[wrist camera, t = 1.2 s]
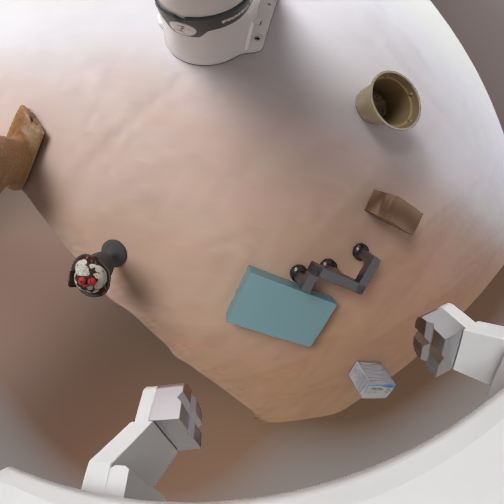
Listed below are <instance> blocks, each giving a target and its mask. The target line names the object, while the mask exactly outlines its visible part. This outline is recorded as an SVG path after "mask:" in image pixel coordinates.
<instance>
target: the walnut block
mask: <svg viewBox="0 0 504 504" xmlns="http://www.w3.org/2000/svg"><path fill="white" fill-rule="evenodd" d="M365 210H366V211H368V212H370V213H371V214H373V215H375V216H376V217H378V218H380V219H381V220H383V221H385V222H386V223H388V224H390V225H392V226H394V227H396V228H398V229H400V230H402V231H404V232H406V233H408V234H410V235H412V236H413V234H414V232H415V230H416V228H417V226H418V224H419V222H420V219H421V217H422V215H423V214H422V213H421V212H420V211H418V210H417V209H415V208H414V207H413V206H411V205H410V204H409V203H407V202H406V201H404V200H403V199H401V198H400V197H398V196H395V195H391V194H388V193H384V192H381V191H377V190H374V191H373V193H372V195H371V197H370V200H369V202H368V204H367V206H366V208H365Z"/></svg>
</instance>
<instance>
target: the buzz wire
mask: <svg viewBox="0 0 504 504" xmlns="http://www.w3.org/2000/svg"><path fill="white" fill-rule="evenodd" d="M353 256H354V257H355V258H356V259H357V260H363V261H364V262H365V263H364V265H363V267H362V269H361V271H360V272H359V274H358V276H357V278H356V279H353V278H351V277H348V276H346V275H344V274H342V273H341V272H340V271H339V270H338V269H337V265H336V263H335V262H334V261H333V260H332V259H325V260H323V261H322V262H321V264H318V263H315V262H313V261H311V263H310V265H309V267H308V269H306V268H305V267H304V266H303V265H295V266H294V267H292V269H291V270H290V276H291V278H292V280H293V281H295V282H296V283H297V284H298V286H299V288H300V290H301V291H304V292H307V293H310V292H311V290H312V288H313V286H314V284H315V283H316V281H317V279H318V277H319V278H322V279H324V280H327V281H329V282H331V283H334V284H336V285H339V286H341V287H344V288H346V289H349V290H351V291H354V292H356V293H359V294H361V295H362V293H363V291H364V289H365V288H366V286H367V284H368V283H369V281H370V279H371V277H372V276H373V274H374V272H375V270H376V268H377V266H378V265H379V263H380V261H381V260H379V259H378V258H377V257H375V256H374V255H373V254H371V253H370V252H369V249H368V247H367V246H366V245H365V244H363V243H359V244H357V245H356V246H355V247H354V248H353Z"/></svg>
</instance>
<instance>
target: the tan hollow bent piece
mask: <svg viewBox="0 0 504 504" xmlns="http://www.w3.org/2000/svg"><path fill="white" fill-rule="evenodd" d="M43 136H44V131H43V128H42V125H41V124H40V123H39V121H38V120H37V119H36V118H35V116H34V114H33V113H32V112H31V111H30V110H29V109H28V108H26V107H25V106H24V105H20V107H19V109H18V111H17V113H16V115H15V117H14V120H13V122H12V124H11V126H10V129H9V132H8V134H7V137H5V136H0V193H1V192H2V191H3V190H4V189H5V187H6V186H7V187H8V188H10V189H12V190H20V189H21V188H22V187H23V186H24V184H25V182H26V180H27V178H28V175H29V173H30V170H31V168H32V165H33V162H34V160H35V157H36V154H37V152H38V149H39V146H40V144H41V141H42V139H43Z"/></svg>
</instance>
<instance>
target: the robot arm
mask: <svg viewBox="0 0 504 504" xmlns="http://www.w3.org/2000/svg"><path fill="white" fill-rule="evenodd" d="M276 2H277V0H155V4H156V7H157V8H158V11H159V14H158V15H157V21H158V23H159V25H160V26H161V27H162V28H163V30H164V37H165V42H166V45H167V47H168V49H169V50H170V51H171V53H172V54H173V55H175V56H176V57H177V58H179V59H181V60H182V61H185V62H188V63H191V64H196V65H213V64H218V63H222V62H225V61H228V60H230V59H232V58H234V57H236V56H238V55H240V54H243V53H253V52H258V51H260V50H261V49H262V48H263V45H264V42H265V39H266V35H267V32H268V28H269V25H270V22H271V18H272V15H273V12H274V9H275V5H276ZM255 38H259V39H260V40H255ZM415 327H416V329H417V330H418V331H417V332H416V334H415V335H414V340H413V345H414V350H415V352H416V354H417V356H418V357H419V358H420V359H421V360H425V361H427V368H428V369H429V370H430V371H431V372H432V374H433V375H434V376H435V377H437V376H439V375H441V374H443V373H445V372H447V371H449V370H450V369H452V368H453V369H454V370H456V371H458V372H461V373H463V374H465V375H468V376H470V377H473V378H475V379H477V380H480V381H482V382H485V383H487V384H489V385H491V386H490V388H489V390H488V392H487V394H486V399H487V400H488V401H487V402H485V403H484V404H483V405H481V406H480V407H479V408H477V409H476V410H475V411H473V412H472V413H470V414H469V415H467V416H466V417H464V418H463V419H462V420H460V421H458V422H457V423H455V424H454V425H452V426H451V427H449V428H447V429H446V430H444V431H443V432H441V433H439V434H438V435H436V436H434V437H432V438H431V439H429V440H427V441H425V442H423V443H422V444H420V445H418V446H416V447H414V448H412V449H410V450H408V451H406V452H404V453H402V454H400V455H398V456H395V457H393V458H391V459H389V460H386V461H384V462H382V463H379V464H377V465H375V466H372V467H370V468H367V469H364V470H362V471H359V472H356V473H354V474H351V475H348V476H345V477H342V478H339V479H335V480H332V481H329V482H325V483H322V484H318V485H315V486H311V487H307V488H303V489H299V490H295V491H289V492H285V493H279V494H274V495H269V496H262V497H255V498H248V499H239V500H228V501H213V502H165V499H166V498H165V497H164V496H163V495H162V494H161V493H159V492H158V491H157V490H155V489H154V488H153V486H154V485H155V484H156V482H157V481H158V480H159V478H160V477H161V475H162V474H163V473H164V471H165V470H166V468H167V467H168V466H169V464H170V463H171V461H172V460H173V458H174V457H175V455H176V454H177V453H178V451H177V450H188V449H199V448H201V438H202V433H201V432H200V430H199V429H198V427H199V426H200V425H201V424H202V412H201V407H200V405H199V402H198V401H197V399H196V398H194V397H192V396H191V393H192V390H191V388H190V387H189V385H188V384H186V383H182V384H172V385H163V386H155V387H146V388H145V389H144V390H143V393H142V397H141V400H140V405H139V408H138V411H137V415H136V419H135V422H131V423H130V424H129V425H127V426H126V427H125V428H124V429H123V430H122V431H121V432H120V433H119V434H118V435H117V436H116V437H115V438H114V439H113V440H112V441H111V442H109V443H108V444H107V445H106V446H105V447H104V448H103V449H102V450H101V451H100V452H99V453H97V454H96V455H95V456H94V457H93V458H92V459H91V460H90V461H89V464H88V468H87V471H86V474H85V477H84V481H83V485H82V488H81V490H80V489H76V488H72V487H68V486H65V485H61V484H58V483H55V482H51V481H48V480H45V479H42V478H39V477H36V476H34V475H31V474H28V473H26V472H23V471H21V470H19V469H16V468H13V467H7V468H5V469H3V470H1V471H0V504H504V326H499V325H494V324H489V323H484V322H480V321H478V322H476V323H475V322H474V321H473V320H472V319H470V318H469V317H468V316H467V315H465V314H464V313H463V312H462V311H460V310H459V309H458V308H457V307H455V306H454V305H453V304H451V303H447V304H445V305H443V306H441V307H439V308H437V309H435V310H433V311H431V312H428V313H426V314H424V315H422V316H420V317H418V318H417V320H416V323H415Z"/></svg>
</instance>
